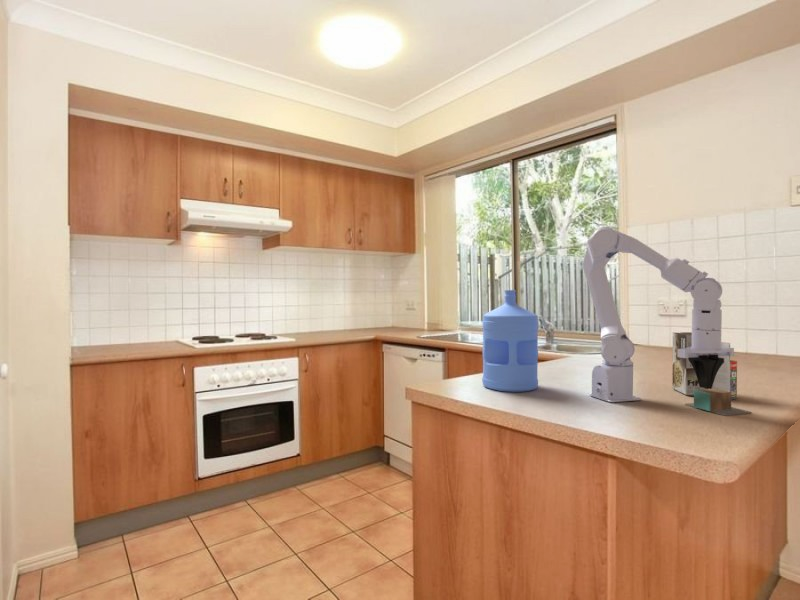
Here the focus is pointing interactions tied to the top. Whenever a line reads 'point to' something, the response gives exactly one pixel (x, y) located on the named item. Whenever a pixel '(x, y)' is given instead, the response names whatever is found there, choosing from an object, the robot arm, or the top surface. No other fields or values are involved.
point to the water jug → (510, 347)
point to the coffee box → (683, 366)
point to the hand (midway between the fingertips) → (705, 387)
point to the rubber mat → (725, 412)
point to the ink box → (727, 375)
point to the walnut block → (712, 399)
